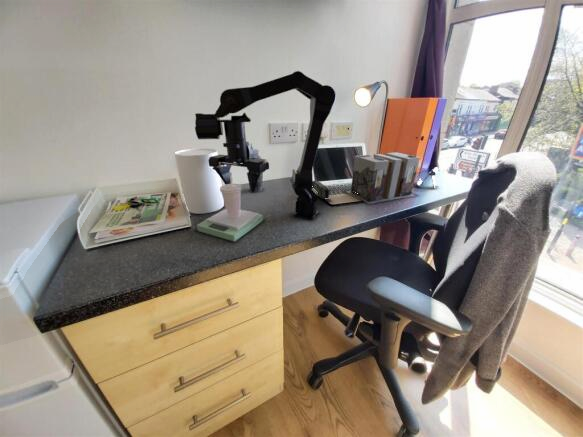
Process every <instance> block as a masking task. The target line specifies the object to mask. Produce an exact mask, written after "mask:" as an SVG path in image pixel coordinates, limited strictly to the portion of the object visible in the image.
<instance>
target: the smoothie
mask: <svg viewBox="0 0 583 437" xmlns="http://www.w3.org/2000/svg"><path fill="white" fill-rule="evenodd" d="M230 181H231V184H226V185H225V184H223V185H222V186H221V187H220V192H222V196H223V200H224V207H225V209H226V211H227V214H228V217H229V218H231V219H235V218H239V217H240V209H241V203H242V202H241V199H242V191H243V187H242V185H241V184H239V183H234V181H233V173H232V171H231V172H230Z"/></svg>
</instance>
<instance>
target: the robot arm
mask: <svg viewBox="0 0 583 437" xmlns="http://www.w3.org/2000/svg"><path fill="white" fill-rule="evenodd" d="M293 90H296V91H297V92H299V94H301V95H302V96H304V97H305V98H307V99H308V100H309V124H308V127H307V131H306V136H305V139H304V140H305V141H304V144H303V145H304V146H303V149H302V154H301V158H300V163H299V166H298V167H297V169H292V172H291V174H292V175H291V178H290V179H289V181H290V184H291V187H292V189H293V191H294V192H293V193H295V195H296V196H297V197H296V200H295V209H294V210H295V213H294V217H297V218H301V219H306V220H310V221H311V220H313V219H314V218H315V217H316V216H317V215H318V214H319V211H318V200H319V198H320V197H319V196H318V195H317V193H316V192H315V190H314V189H313V188H312V185H313V181H314V175H313V174H314V173H313V172H314V171H313V169H314V165H315V161H316V157H317V152H318V149H319V145H320V140H321V137H322V133H323V129H324V125H325V122H326V121H327V119H328V118H329V116H330V114H331V112H332V110H333V107H334V105H335V103H336V99H337V94H336V91H335V89H334V88H333V87H332V86H330V85H328V84H326V85H323V84H321V83H319V82H318V81H316V80H315V79H312V78H311V77H309V76H308V75H306V74H305V73H303V72H302V71H300V70H296V71H294V72H292V73H290V74H287V75H284V76H280V77H278V78H274V79H271V80H269V81H266V82H263V83H260V84H257V85H254V86H247V87H246V86H245V87H235V88H228V89H225V90H224V91H222V92H221V94H220V98H219V103H220V104H219V106H218V108H217V110H215V113H201V112H199V113H198V112H197V113H195V115H194V116H195V122H194V124H195V126H194V130H195V135H196V137H197V139H198V140H220V138H221V136H224V138H225V142H223V143H222V147H223V148H226V154H218V155H216V156H212V157H210V158H209V160H208V161H209V166H210V167H213V170H215V171H216V172H217V173H218V175H219V176H220V177H221V181H222V182H223V183H224V185H226V184H231V181H230V171H231V168H232V166H234V167H242V168H246V169H247V171H248V172H246V175H247V180H248V186H249V190H250V192H251V194H252V193H255V192H254V191H255V188H256V184H257V181H258V178H259V176H260V174H261V173H262V172H263V173H265V172H266V171H267V170H269V169H270V163H269V160H268V159H265V158H262V159H257V158H258V155H259V151H260V150H259V149H257V148H254V147H252V148H251V145H250V141H247V138H246V126H245V124H246V123H251V122H252V119H251V118H250V117H249V116H248V115H247V113H246V112H243V113H242V115H231V116H230V119H221V118H225V117H227V116H229V115H230V114H236V113H237V114H238V113H239V112H240V111H242V110H245V108H249V106H251V105H253V104H254V103H256V102H259V101H262V100H266V99H268V98H271V97H274V96H278V95H281V94H283V93H286V92H290V91H293ZM250 159H254V160H251V161H247V160H250Z"/></svg>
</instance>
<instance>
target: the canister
mask: <svg viewBox="0 0 583 437" xmlns="http://www.w3.org/2000/svg"><path fill="white" fill-rule="evenodd" d="M216 155H219V154H218V150H217V149H215V148H207V147H206V148H204V147H203V148H201V147H200V148H199V147H198V148H188V149H180V150H177V151H175V152H174V158H175V161H176V167H177V172H178V177H179V181H180V187H181V191H182V195H183V194H184V196H183V198H184V197H185V200H186V204H187V206H188V209H189V213H191V214H199V215H200V214H209V213H214V212H217V211H219V210H221V209H222V208H223V207H225V203H224V199H223V196H222V192H220V187H221V186H223V185H222V179H221V177H220V176H219V175H218V173H217V172H216V171H215V170H213V167H210V166H209V161H208V160H209V158H210V157H212V156H216Z"/></svg>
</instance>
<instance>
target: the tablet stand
mask: <svg viewBox="0 0 583 437" xmlns="http://www.w3.org/2000/svg"><path fill="white" fill-rule="evenodd" d="M438 172H439V168H438V167H433V168H432V169H431V171H430V172H429V173H427V174H428V175H426V176H425V178H424V179H423V180H421V179H422V178H419V179H418V180H417V182H416V183H415V187H416V188H420V187H421V186H422V185H423V183H424V182H426V180H427V178H428V177H429V176H431V180H432V185H433V189H434V190H435V189H436V187H437V184H436V178H435V175H436V174H437V173H438Z"/></svg>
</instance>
